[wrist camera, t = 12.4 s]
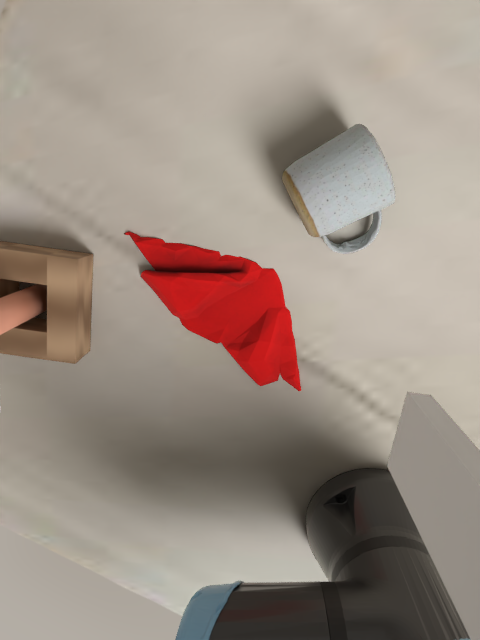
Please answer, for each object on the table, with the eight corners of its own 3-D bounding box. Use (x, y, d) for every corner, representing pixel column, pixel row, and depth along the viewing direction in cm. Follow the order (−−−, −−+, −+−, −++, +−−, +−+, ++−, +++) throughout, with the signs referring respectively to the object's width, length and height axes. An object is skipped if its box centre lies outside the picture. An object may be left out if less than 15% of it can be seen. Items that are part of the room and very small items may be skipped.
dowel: (55, 311, 46) (-27, 358, 33) (28, 308, 46) (-65, 352, 33) (55, 285, 45) (-29, 322, 32) (28, 281, 45) (-68, 316, 32)
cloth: (342, 366, 47) (346, 374, 45) (243, 426, 50) (242, 436, 48) (208, 167, 42) (205, 166, 40) (105, 245, 45) (97, 248, 42)
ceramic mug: (274, 173, 41) (278, 170, 34) (350, 128, 40) (371, 114, 33) (322, 266, 44) (336, 281, 37) (395, 227, 42) (424, 234, 35)
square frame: (90, 350, 47) (75, 363, 44) (-6, 336, 47) (-29, 349, 44) (93, 254, 44) (77, 259, 40) (-10, 239, 44) (-35, 243, 40)
